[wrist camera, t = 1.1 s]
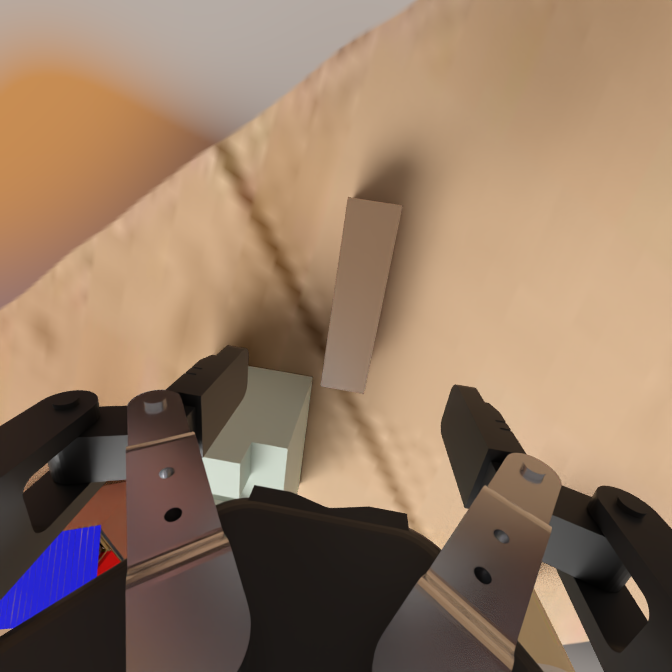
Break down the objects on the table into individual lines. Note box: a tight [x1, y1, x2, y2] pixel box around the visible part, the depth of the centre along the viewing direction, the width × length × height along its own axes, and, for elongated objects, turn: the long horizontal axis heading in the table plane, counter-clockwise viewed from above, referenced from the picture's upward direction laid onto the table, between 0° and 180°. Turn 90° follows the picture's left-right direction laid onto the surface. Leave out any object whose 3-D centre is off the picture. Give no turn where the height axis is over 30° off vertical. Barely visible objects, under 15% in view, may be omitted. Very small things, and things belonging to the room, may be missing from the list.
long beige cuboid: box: [321, 197, 403, 394], centre depth 25 cm, size 4×14×5 cm, turn 172°
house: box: [0, 482, 127, 629], centre depth 37 cm, size 12×20×12 cm, turn 108°
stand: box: [202, 366, 313, 505], centre depth 28 cm, size 10×14×12 cm
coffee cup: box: [518, 588, 575, 672], centre depth 32 cm, size 9×9×12 cm
